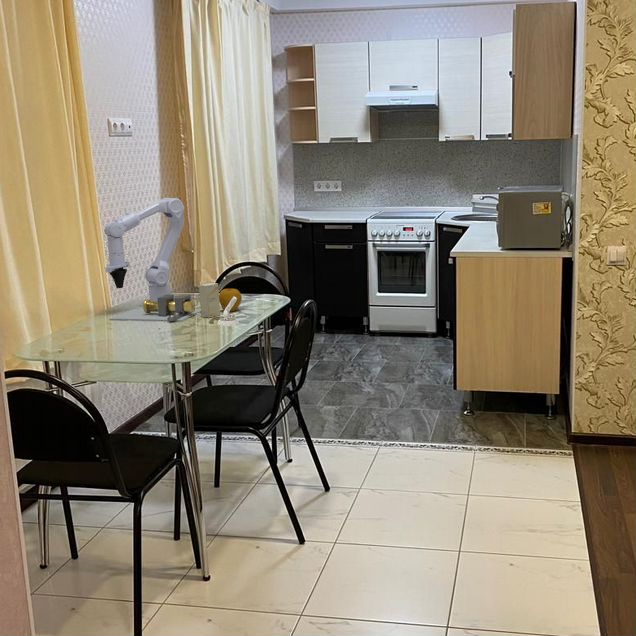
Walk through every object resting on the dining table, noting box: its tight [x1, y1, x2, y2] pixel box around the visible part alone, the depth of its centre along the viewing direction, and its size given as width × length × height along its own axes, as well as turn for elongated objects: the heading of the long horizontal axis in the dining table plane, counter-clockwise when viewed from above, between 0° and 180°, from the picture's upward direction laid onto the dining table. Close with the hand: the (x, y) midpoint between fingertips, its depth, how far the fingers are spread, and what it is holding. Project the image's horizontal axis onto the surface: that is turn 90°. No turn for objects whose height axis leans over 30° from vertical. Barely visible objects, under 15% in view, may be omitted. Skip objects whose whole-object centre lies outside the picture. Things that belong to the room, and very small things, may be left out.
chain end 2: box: [167, 294, 192, 322], centre depth 307 cm, size 15×3×7 cm, turn 163°
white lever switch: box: [217, 296, 240, 327], centre depth 293 cm, size 8×12×7 cm
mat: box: [108, 308, 201, 322], centre depth 314 cm, size 18×30×1 cm, turn 73°
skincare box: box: [198, 282, 221, 319], centre depth 308 cm, size 6×4×12 cm
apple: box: [219, 288, 243, 313], centre depth 316 cm, size 8×8×9 cm
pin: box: [142, 299, 196, 313], centre depth 312 cm, size 5×19×5 cm, turn 73°
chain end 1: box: [157, 293, 175, 317], centre depth 316 cm, size 15×3×7 cm, turn 163°
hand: (119, 288), depth 321 cm, fingers closed
